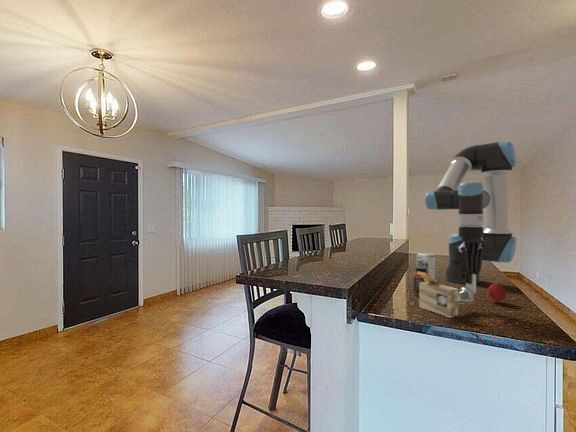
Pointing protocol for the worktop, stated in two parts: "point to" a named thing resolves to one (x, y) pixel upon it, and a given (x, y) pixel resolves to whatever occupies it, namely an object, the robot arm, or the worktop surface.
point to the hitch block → (430, 298)
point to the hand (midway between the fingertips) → (471, 292)
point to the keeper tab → (427, 277)
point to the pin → (459, 296)
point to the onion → (496, 292)
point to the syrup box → (427, 263)
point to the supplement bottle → (418, 279)
